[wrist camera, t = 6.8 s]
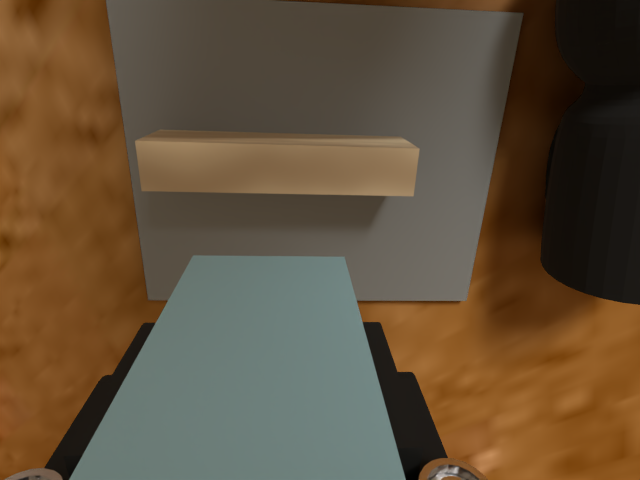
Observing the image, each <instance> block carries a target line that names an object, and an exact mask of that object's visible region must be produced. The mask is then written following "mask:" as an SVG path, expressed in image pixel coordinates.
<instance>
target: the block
mask: <svg viewBox="0 0 640 480" xmlns="http://www.w3.org/2000/svg"><path fill="white" fill-rule="evenodd" d="M69 480H406V479H405V475H404V472H403V468H402V464H401V461H400V457H399V453H398V450H397V446H396V442H395V439H394V435H393V431H392V428H391V424H390V421H389V417H388V413H387V410H386V406H385V402H384V399H383V395H382V391H381V388H380V384H379V381H378V377H377V373H376V370H375V366H374V362H373V359H372V355H371V351H370V348H369V344H368V341H367V337H366V333H365V330H364V326H363V322H362V319H361V315H360V311H359V308H358V304H357V300H356V297H355V293H354V290H353V286H352V282H351V279H350V275H349V271H348V268H347V264H346V260H345V257H322V256H203V255H193V257H192V258H191V260H190V262H189V264H188V266H187V267H186V269H185V271H184V273H183V275H182V276H181V278H180V280H179V282H178V284H177V286H176V287H175V289H174V291H173V293H172V295H171V296H170V298H169V300H168V302H167V304H166V305H165V307H164V309H163V311H162V313H161V314H160V316H159V318H158V320H157V322H156V323H155V325H154V327H153V329H152V331H151V333H150V334H149V336H148V338H147V340H146V342H145V343H144V345H143V347H142V349H141V351H140V352H139V354H138V356H137V358H136V360H135V361H134V363H133V365H132V367H131V369H130V371H129V372H128V374H127V376H126V378H125V380H124V381H123V383H122V385H121V387H120V389H119V390H118V392H117V394H116V396H115V398H114V399H113V401H112V403H111V405H110V407H109V408H108V410H107V412H106V414H105V416H104V418H103V419H102V421H101V423H100V425H99V427H98V428H97V430H96V432H95V434H94V436H93V437H92V439H91V441H90V443H89V445H88V446H87V448H86V450H85V452H84V454H83V456H82V457H81V459H80V461H79V463H78V465H77V466H76V468H75V470H74V472H73V474H72V475H71V477H70V479H69Z"/></svg>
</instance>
